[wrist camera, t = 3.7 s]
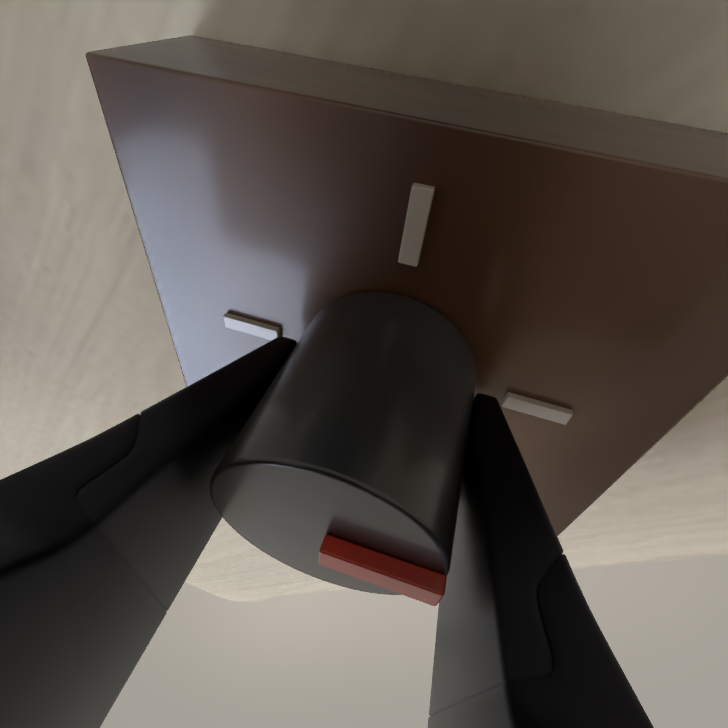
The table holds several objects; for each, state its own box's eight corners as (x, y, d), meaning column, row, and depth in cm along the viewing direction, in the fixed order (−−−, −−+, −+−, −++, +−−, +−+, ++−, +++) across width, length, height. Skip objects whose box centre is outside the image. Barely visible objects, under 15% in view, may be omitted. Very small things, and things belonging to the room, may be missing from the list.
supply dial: (306, 396, 11) (217, 561, 8) (306, 268, 8) (169, 445, 5) (451, 440, 11) (416, 635, 7) (503, 319, 8) (484, 550, 5)
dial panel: (240, 361, 16) (193, 423, 14) (189, 35, 9) (75, 53, 7) (554, 455, 14) (558, 542, 12) (795, 145, 7) (912, 218, 5)
